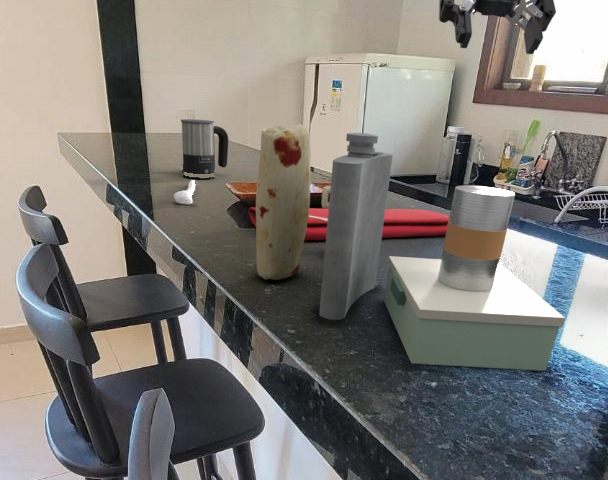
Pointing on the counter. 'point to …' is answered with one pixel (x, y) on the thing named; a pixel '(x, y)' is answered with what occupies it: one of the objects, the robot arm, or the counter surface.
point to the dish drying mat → (393, 226)
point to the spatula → (185, 194)
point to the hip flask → (354, 224)
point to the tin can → (475, 237)
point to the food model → (282, 200)
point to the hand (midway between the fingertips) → (500, 45)
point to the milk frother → (202, 146)
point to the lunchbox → (469, 319)
